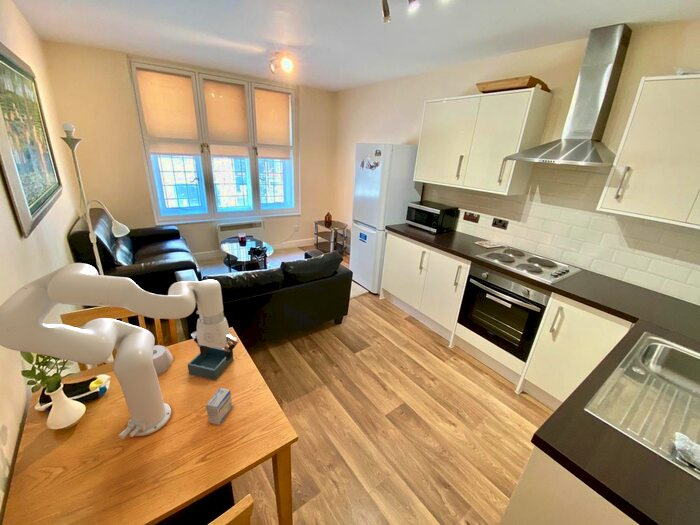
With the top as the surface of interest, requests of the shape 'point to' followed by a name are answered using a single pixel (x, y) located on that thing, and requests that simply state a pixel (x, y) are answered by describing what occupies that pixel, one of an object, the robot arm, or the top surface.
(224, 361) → the tub
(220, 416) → the medicine box
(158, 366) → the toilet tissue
